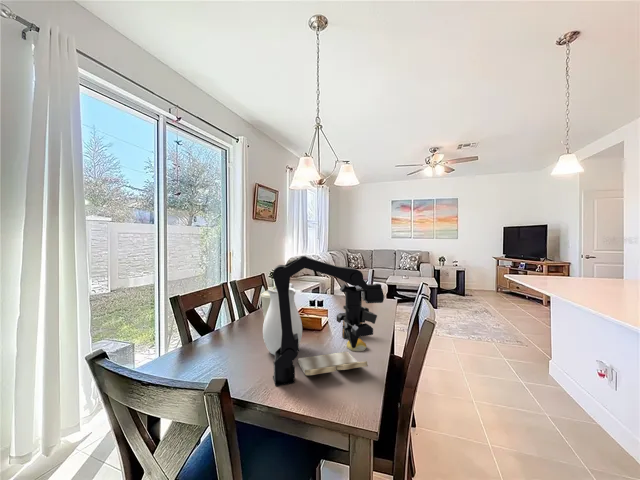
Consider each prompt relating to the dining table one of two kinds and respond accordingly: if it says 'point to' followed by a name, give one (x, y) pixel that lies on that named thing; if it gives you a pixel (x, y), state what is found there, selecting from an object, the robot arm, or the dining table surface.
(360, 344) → the bread roll
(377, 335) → the dining table surface
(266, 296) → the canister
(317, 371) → the plank inner
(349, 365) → the plank outer
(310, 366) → the board
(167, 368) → the dining table surface
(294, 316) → the pitcher
